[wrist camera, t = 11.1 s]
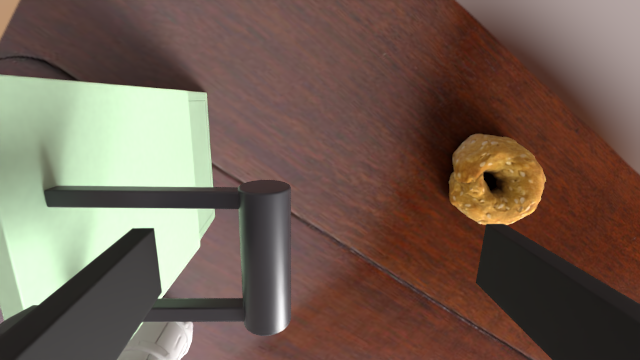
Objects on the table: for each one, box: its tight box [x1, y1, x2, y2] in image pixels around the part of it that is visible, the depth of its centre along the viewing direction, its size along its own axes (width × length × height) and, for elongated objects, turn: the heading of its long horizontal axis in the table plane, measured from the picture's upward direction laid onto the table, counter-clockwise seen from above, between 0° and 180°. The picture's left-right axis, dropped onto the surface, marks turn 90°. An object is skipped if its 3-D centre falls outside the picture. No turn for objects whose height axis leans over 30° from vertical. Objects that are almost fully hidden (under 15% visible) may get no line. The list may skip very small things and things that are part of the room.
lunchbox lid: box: [0, 74, 291, 340], centre depth 18 cm, size 16×14×10 cm
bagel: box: [449, 134, 546, 225], centre depth 34 cm, size 10×11×5 cm
